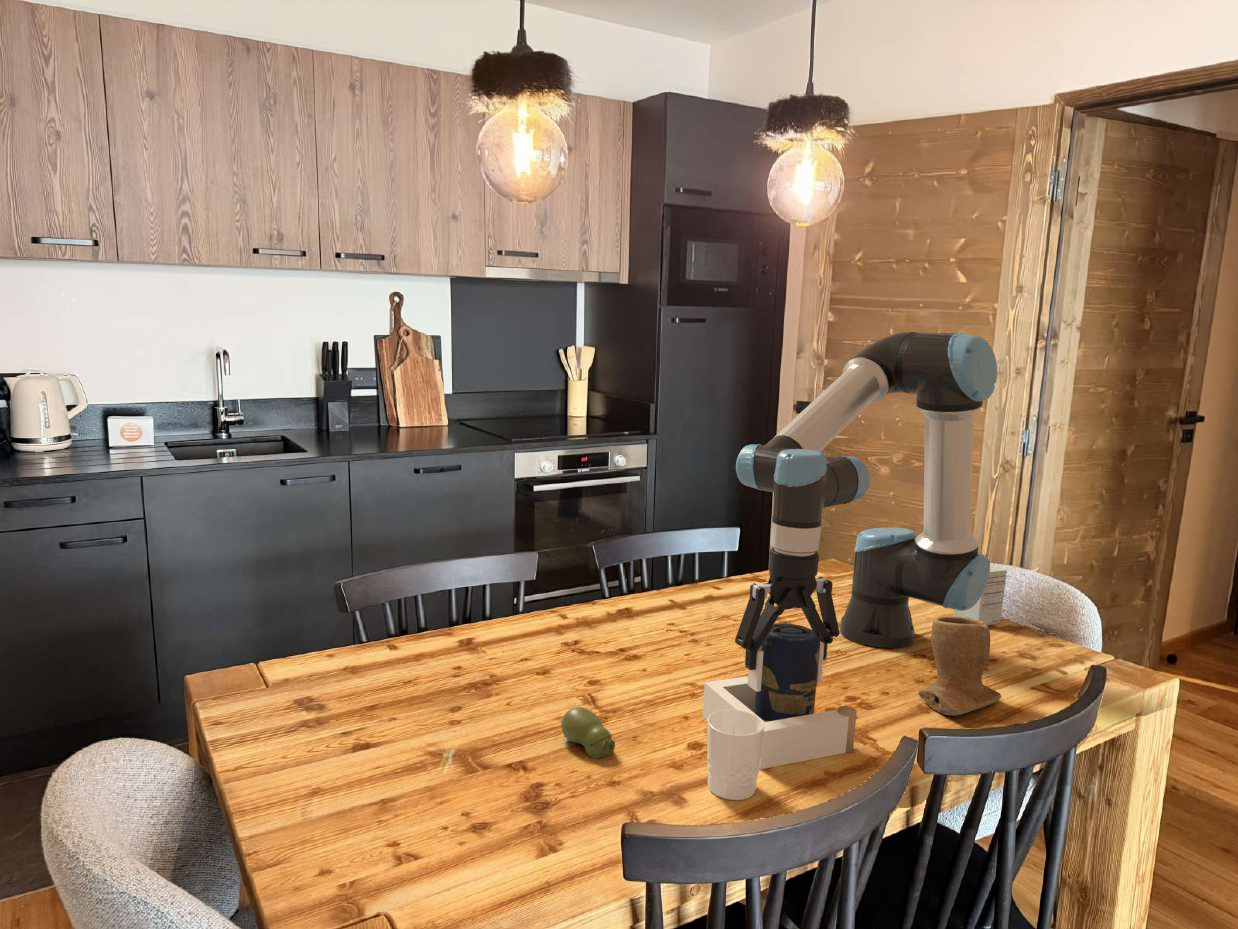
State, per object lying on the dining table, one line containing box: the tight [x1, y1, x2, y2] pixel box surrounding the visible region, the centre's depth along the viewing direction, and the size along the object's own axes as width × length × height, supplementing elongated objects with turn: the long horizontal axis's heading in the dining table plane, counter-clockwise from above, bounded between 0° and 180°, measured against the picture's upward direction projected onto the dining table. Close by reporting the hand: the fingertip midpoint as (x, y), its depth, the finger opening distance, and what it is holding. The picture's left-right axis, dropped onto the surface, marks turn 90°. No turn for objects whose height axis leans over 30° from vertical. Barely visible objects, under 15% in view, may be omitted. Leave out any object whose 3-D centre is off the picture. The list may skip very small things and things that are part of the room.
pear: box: [560, 706, 616, 760], centre depth 133 cm, size 6×5×10 cm
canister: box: [755, 622, 820, 722], centre depth 139 cm, size 10×10×18 cm
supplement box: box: [953, 564, 1008, 626], centre depth 196 cm, size 7×7×13 cm
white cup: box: [706, 710, 764, 801], centre depth 122 cm, size 8×8×10 cm
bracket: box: [702, 675, 857, 770], centre depth 139 cm, size 17×18×6 cm
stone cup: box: [917, 616, 1002, 717], centre depth 152 cm, size 15×12×15 cm
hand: (784, 683), depth 138 cm, fingers open, 11 cm apart
